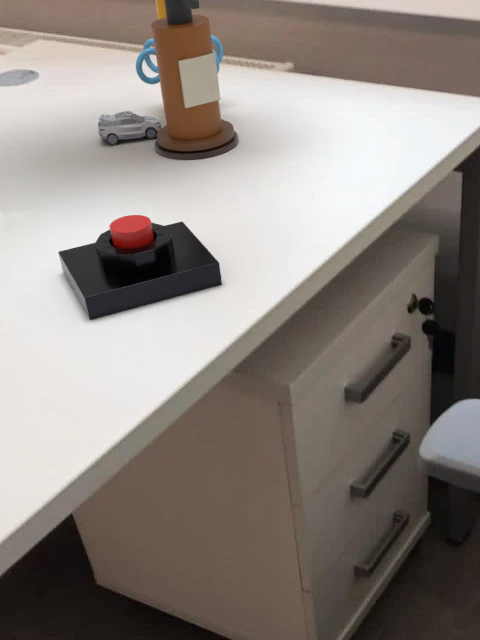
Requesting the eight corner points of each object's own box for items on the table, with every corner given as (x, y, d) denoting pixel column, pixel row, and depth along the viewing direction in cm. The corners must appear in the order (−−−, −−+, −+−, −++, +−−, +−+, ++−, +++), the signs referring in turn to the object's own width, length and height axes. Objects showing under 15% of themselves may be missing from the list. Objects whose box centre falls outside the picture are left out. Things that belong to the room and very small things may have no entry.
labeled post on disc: (145, 136, 107) (114, -43, 95) (212, 118, 111) (191, -56, 98) (178, 157, 101) (149, -31, 89) (248, 138, 104) (230, -46, 92)
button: (119, 255, 76) (115, 236, 75) (108, 239, 78) (104, 220, 77) (159, 245, 77) (156, 226, 76) (147, 229, 79) (144, 211, 78)
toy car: (166, 137, 109) (162, 112, 107) (101, 147, 107) (96, 122, 105) (162, 127, 111) (158, 103, 110) (99, 137, 110) (94, 112, 108)
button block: (90, 321, 75) (79, 278, 72) (63, 273, 82) (53, 232, 79) (222, 285, 78) (216, 243, 76) (185, 242, 85) (179, 202, 83)
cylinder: (224, 125, 111) (209, -7, 101) (142, 130, 111) (119, -1, 102) (230, 94, 120) (216, -29, 111) (154, 99, 121) (134, -23, 111)
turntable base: (170, 166, 101) (169, 160, 101) (145, 140, 108) (144, 135, 108) (251, 148, 104) (250, 142, 104) (221, 124, 111) (220, 119, 111)
